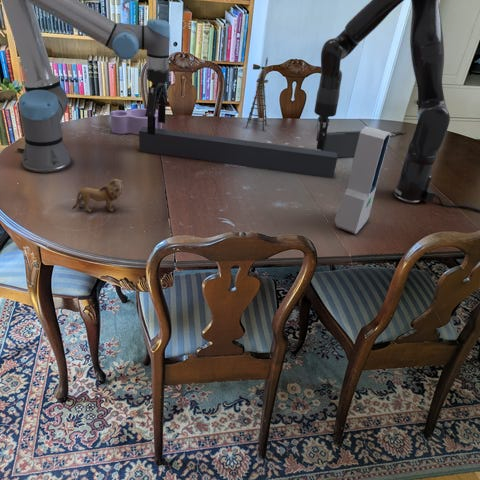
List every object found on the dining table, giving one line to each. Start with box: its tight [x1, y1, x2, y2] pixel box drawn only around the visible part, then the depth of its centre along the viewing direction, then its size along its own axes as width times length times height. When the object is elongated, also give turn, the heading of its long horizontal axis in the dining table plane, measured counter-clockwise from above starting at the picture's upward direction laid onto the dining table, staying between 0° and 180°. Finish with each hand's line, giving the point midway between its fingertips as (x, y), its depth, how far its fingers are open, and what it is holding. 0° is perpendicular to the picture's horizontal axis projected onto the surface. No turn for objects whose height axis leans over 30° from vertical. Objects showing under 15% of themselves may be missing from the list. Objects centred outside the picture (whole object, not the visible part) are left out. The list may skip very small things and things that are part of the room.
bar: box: [138, 127, 338, 179], centre depth 174 cm, size 73×5×8 cm, turn 83°
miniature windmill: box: [245, 57, 269, 131], centre depth 203 cm, size 9×8×30 cm
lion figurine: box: [71, 178, 124, 213], centre depth 135 cm, size 15×5×9 cm, turn 110°
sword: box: [390, 131, 407, 137], centre depth 214 cm, size 31×3×1 cm, turn 126°
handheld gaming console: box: [321, 130, 362, 158], centre depth 188 cm, size 23×3×10 cm, turn 108°
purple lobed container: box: [109, 107, 163, 136], centre depth 192 cm, size 20×12×7 cm, turn 109°
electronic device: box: [334, 125, 392, 235], centre depth 136 cm, size 12×8×30 cm, turn 148°
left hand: (156, 128), depth 173 cm, fingers open, 13 cm apart
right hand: (319, 145), depth 169 cm, fingers open, 8 cm apart
